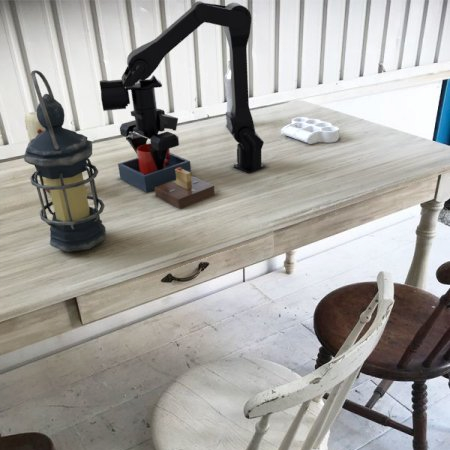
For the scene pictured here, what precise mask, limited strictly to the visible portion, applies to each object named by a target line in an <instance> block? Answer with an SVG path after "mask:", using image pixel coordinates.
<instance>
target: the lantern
mask: <svg viewBox="0 0 450 450" xmlns="http://www.w3.org/2000/svg"><path fill="white" fill-rule="evenodd" d="M36 74H37V75H38V76H39V77H40V78H41V81H42V82H43V84H44V86H45V88H46V90H47V93H44V94H43V95H42V92H41V89H40V86H39V83H38V80H37V76H36ZM30 76H31V79H32V82H33V86H34V89H35V92H36V96H37V99H38V105H37V107H36V112H37V118H38V121H39V123H40V124H41V126H42V127H44V128H45V129H46V130H45V131H43V132H41V133H40V134H38V135H37V136H36V138H34V139H32V140H31V141H30V142H29V141H28V144H27V147H26V148H25V152H24V154H23V159H24V160H23V161H24V162H25V163H27V164H29V165H32V166H34V168H35V170H36V171H34V172H33V173H32V175H30V177H29V179H30V183H31V185H32V186H34V187H36V191H37V194H38V198H39V203H40V206H41V209H40V211H39V212H38V213H39V216H40V220H42V221H43V222H45V223H46V225H48V226H49V232H50V235H49V237H50V239H49V240H50V241H49V246H51V247H53V248H55V249H59V250H61V251H64V252H67V253H73V252H80V251H88V250H90V249H92V248H93V247H95V246H97V245H98V244H100V243H102V242H103V241H105V239H106V238H107V236H106V235H107V233H106V231H107V230H106V226H105V224H103V221H102V219H101V217H100V215H101V214H102V213H103V212H104V210H105V207H106V206H105V203H104V202H103V200H102V199H100V198H99V197H98V192H97V187H96V181H95V179H96V178H97V176H98V175H99V170H98V168H97V166H95V165H94V164H92V162H91V160H90V158H91V157H92V155H93V142H92V140H90V139H89V140H88V136H86V135H84V134H82V133H78V132H76V131H74V130H72V129H68V128H65V127H63V125H64V124H65V117H66V116H65V110H64V107H63V105H62V104H61V102H59V101H58V100H57V99H55V96H54V93H53V90H52V88H51V86H50V84H49V82H48V80H47V78H46V76H45V75H44V74H43V73H42V72H41V71H39V70H37V69H36V70H32V71H31V72H30ZM84 172H87V175H88V177H87V178H86V179H84V176H83V173H84ZM42 177H45V178H47V182H48V186H47V185H44V183H43V179H42ZM38 178H39V180H38ZM39 181H40V183H39ZM88 183H89V186H90V191H91V195H88V194H87V191H86V186H85V185H86V184H88ZM41 189H42V191H41ZM45 189H48V190H50V193H49V194H50V198H51V201H50V202H49V198H48V195H47V191H46V190H45ZM42 193H43V196H44V199H43V196H42ZM44 200H45V202H44ZM89 200H93V206H94V207H92V206H90V204H89ZM99 205H100V207H99ZM51 206H53V210H54V211H52V209H51ZM98 208H99V209H98ZM46 211H48V212H49V214H51V216H52V219H49V218H48V214H47V212H46Z"/></svg>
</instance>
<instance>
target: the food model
mask: <svg viewBox="0 0 450 450" xmlns="http://www.w3.org/2000/svg"><path fill="white" fill-rule="evenodd" d="M24 124H25V128H26V132H27V138H28V143H29V142H30V141H31V140H32V139H34V138H36V136H37V135H38V134H40V133H41V132H43V131H45V130H46V129H45V128H44V127H42V126H41V124H40V123H39V121H38V118H37V111H32V112H28V113H26V114H25V115H24ZM42 179H43V183H44V185H47V186H48V182H47V178H45V177H42ZM45 190H46V193H49V194H50V190H48V189H45Z"/></svg>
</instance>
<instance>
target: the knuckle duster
mask: <svg viewBox="0 0 450 450" xmlns="http://www.w3.org/2000/svg"><path fill="white" fill-rule="evenodd" d="M280 134H281V135H284V136H286V137H289V138H292V139H295V140H298V141H301V142H303V143H306V144H308V145H313V144H316V143H324V144H325V143H327V144H329V143H330V144H331V143H336V142H338V141H339V137H340V128H339V126H334V125H333V124H332V123H331V122H328V121H324V120H322V119H318V118H308V117H306V116H298V117H293V118H292V119H291V123H289V124H287V125H284V126H283V127H282V128H281V130H280Z"/></svg>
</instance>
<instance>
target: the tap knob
mask: <svg viewBox="0 0 450 450" xmlns="http://www.w3.org/2000/svg"><path fill="white" fill-rule="evenodd" d="M175 172H176V182H177V185H179V186H181V187H183V188H185V189H187V190H188V189H191V188H192V182H191V176H192V172H191V173H190V172H188V171H186V170H184V169H182V168H180V167H179V168H176V169H175Z"/></svg>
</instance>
